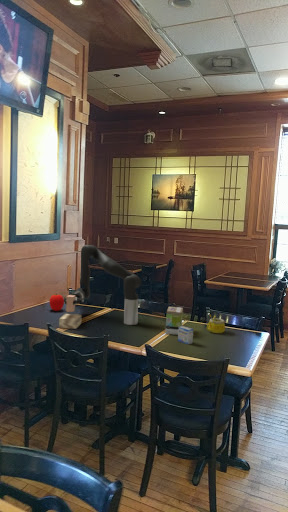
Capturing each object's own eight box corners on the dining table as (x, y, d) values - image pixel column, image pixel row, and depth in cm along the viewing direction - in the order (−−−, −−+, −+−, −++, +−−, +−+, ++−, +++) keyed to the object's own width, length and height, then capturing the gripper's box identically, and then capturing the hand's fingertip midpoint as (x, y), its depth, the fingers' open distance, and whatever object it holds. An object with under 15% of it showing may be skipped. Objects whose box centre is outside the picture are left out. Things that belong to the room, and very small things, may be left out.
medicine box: (177, 341, 218) (178, 326, 217) (182, 339, 221) (183, 325, 220) (188, 344, 212) (188, 330, 212) (192, 343, 215) (193, 328, 215)
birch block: (81, 323, 247) (81, 314, 247) (75, 328, 234) (76, 319, 234) (65, 322, 248) (65, 313, 248) (59, 327, 235) (59, 318, 235)
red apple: (64, 312, 277) (65, 295, 276) (50, 312, 273) (50, 295, 272) (62, 308, 287) (62, 292, 286) (48, 309, 283) (48, 292, 282)
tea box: (180, 335, 230) (182, 312, 229) (164, 333, 232) (166, 310, 230) (182, 328, 245) (183, 307, 244) (167, 327, 246) (168, 305, 245)
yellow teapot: (218, 328, 248) (219, 311, 247) (227, 333, 238) (229, 315, 237) (202, 330, 243) (203, 312, 242) (210, 335, 233) (212, 316, 232)
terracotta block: (75, 310, 243) (75, 295, 242) (73, 312, 238) (73, 296, 237) (68, 309, 243) (68, 295, 242) (66, 311, 239) (66, 296, 238)
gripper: (67, 291, 254) (59, 296, 238) (87, 292, 253) (80, 297, 236) (66, 302, 255) (58, 307, 238) (86, 303, 254) (80, 309, 237)
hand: (69, 302), depth 237 cm, fingers closed on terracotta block, 4 cm apart
